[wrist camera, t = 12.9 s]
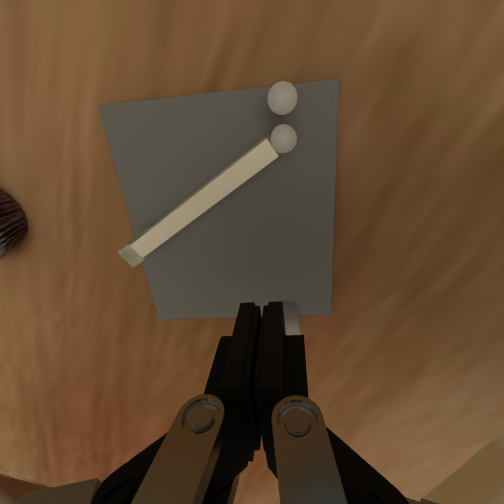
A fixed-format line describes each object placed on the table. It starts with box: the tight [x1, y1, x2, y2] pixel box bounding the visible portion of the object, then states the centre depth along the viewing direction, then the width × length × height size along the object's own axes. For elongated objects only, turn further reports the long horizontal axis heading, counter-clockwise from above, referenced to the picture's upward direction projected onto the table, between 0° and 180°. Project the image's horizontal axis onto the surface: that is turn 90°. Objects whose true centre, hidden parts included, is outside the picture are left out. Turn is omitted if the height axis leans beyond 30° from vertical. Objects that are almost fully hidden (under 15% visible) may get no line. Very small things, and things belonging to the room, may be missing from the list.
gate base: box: [98, 79, 339, 335], centre depth 28 cm, size 22×25×8 cm
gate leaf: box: [118, 123, 297, 267], centre depth 27 cm, size 2×19×5 cm, turn 127°
